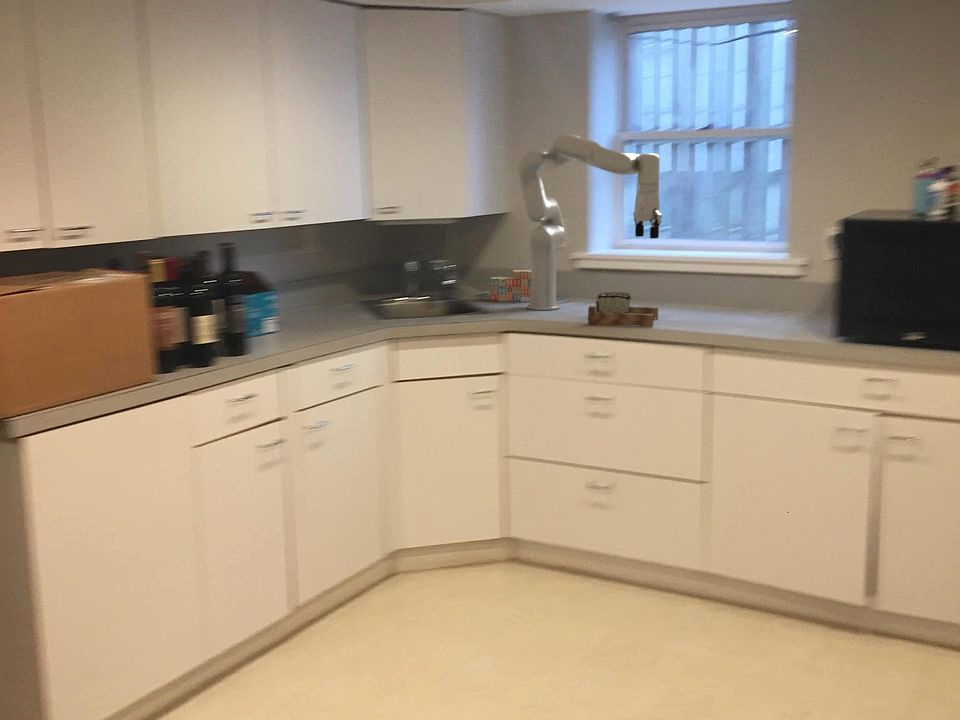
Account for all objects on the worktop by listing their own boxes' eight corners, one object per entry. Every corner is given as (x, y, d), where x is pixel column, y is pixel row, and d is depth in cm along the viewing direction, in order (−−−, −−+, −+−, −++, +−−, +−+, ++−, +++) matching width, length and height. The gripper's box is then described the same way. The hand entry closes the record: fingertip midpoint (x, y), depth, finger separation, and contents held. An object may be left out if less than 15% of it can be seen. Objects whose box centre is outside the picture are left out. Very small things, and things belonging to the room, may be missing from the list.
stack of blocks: (490, 301, 404) (490, 271, 401) (491, 299, 410) (491, 269, 407) (543, 301, 402) (543, 271, 399) (543, 299, 408) (543, 269, 406)
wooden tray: (588, 324, 344) (588, 307, 342) (597, 316, 363) (597, 299, 362) (652, 326, 338) (652, 309, 337) (658, 318, 357) (658, 301, 356)
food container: (634, 320, 352) (634, 292, 350) (631, 323, 346) (631, 294, 344) (600, 319, 356) (600, 291, 354) (596, 321, 350) (596, 293, 348)
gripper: (626, 188, 361) (625, 236, 365) (652, 189, 346) (650, 239, 349) (643, 188, 364) (642, 235, 367) (670, 189, 348) (669, 238, 352)
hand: (646, 237), depth 358 cm, fingers open, 9 cm apart
